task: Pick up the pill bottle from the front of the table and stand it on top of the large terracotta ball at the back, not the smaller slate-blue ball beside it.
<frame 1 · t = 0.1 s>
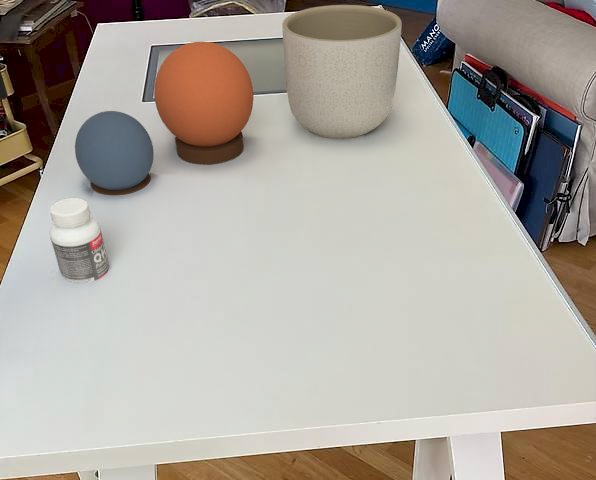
pill bottle: (89, 284, 83), on the table
slate ball: (123, 193, 99), on the table
planter: (340, 127, 113), on the table
terracotta ball: (210, 149, 108), on the table
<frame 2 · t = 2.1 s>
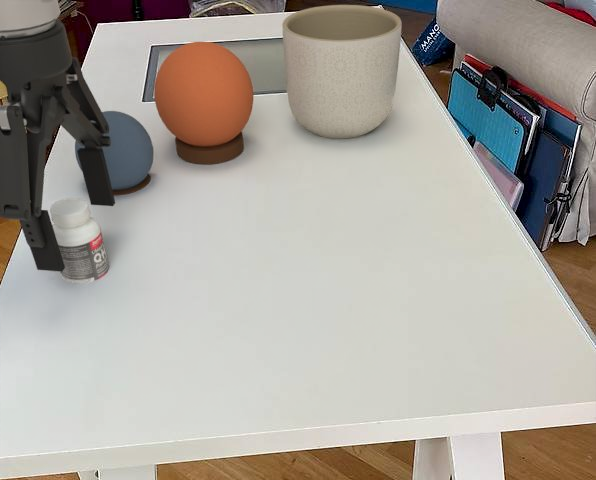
hand: (79, 234, 78), 6 cm above the table, tool pointing down, fingers open, 13 cm apart
nothing on the table moved.
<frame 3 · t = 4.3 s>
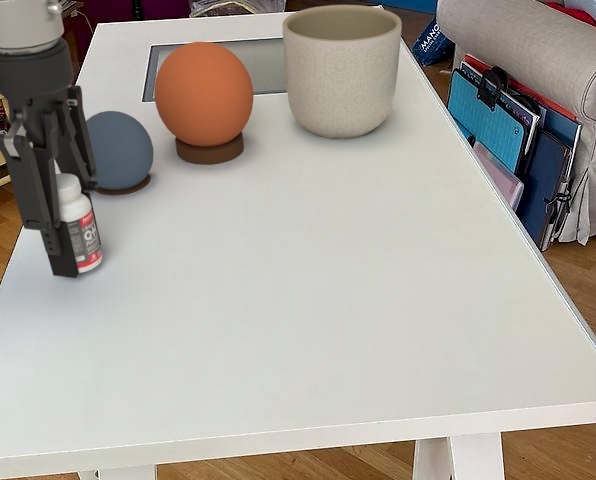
hand: (77, 259, 81), 3 cm above the table, tool pointing down, fingers closed on pill bottle, 5 cm apart
pill bottle: (79, 263, 81), point 3 cm above the table, touching gripper
everything else where it was.
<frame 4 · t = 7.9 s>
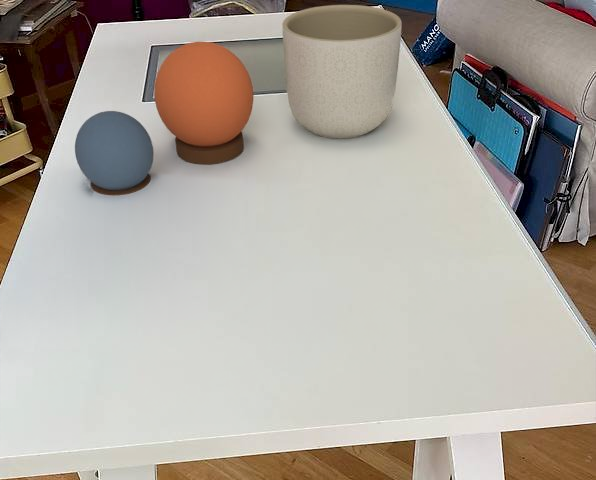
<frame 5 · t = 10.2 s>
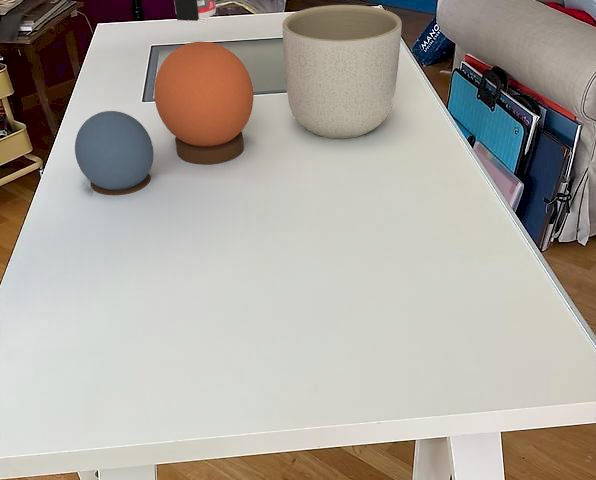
hand: (194, 12, 95), 19 cm above the table, tool pointing down, fingers closed on pill bottle, 5 cm apart
pill bottle: (196, 16, 96), point 18 cm above the table, touching gripper
everything else where it was.
when the fingers open (15 cm above the table, at t = 11.6 s): pill bottle stays where it is, resting on terracotta ball.
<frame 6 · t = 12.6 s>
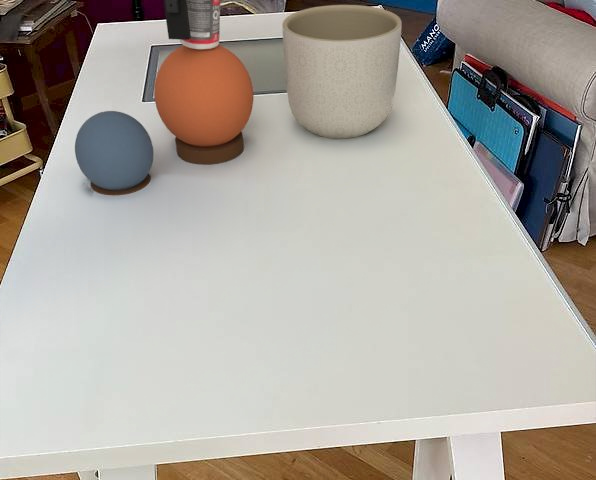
hand: (195, 22, 96), 18 cm above the table, tool pointing down, fingers open, 13 cm apart
pill bottle: (199, 45, 98), point 15 cm above the table, touching terracotta ball
everything else where it was.
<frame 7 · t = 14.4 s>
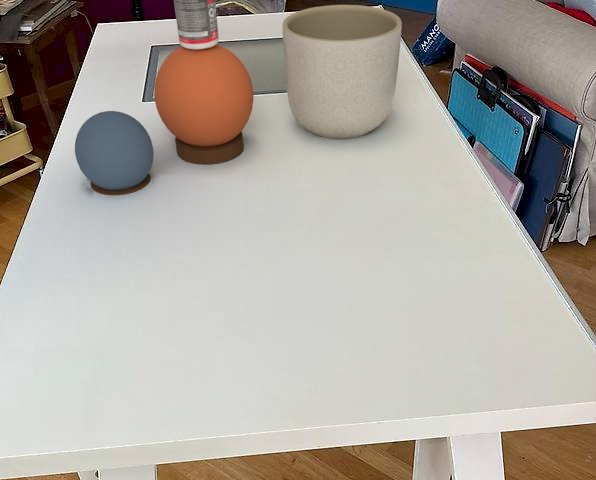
nothing on the table moved.
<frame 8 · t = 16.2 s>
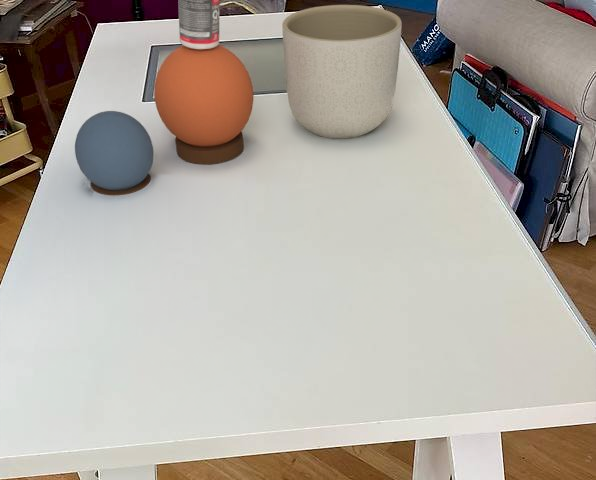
nothing on the table moved.
at the end: pill bottle 0.2 cm off-centre on the terracotta ball, point 14.8 cm above the terracotta ball's base; pill bottle tilted 3°; the gripper is holding nothing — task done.
